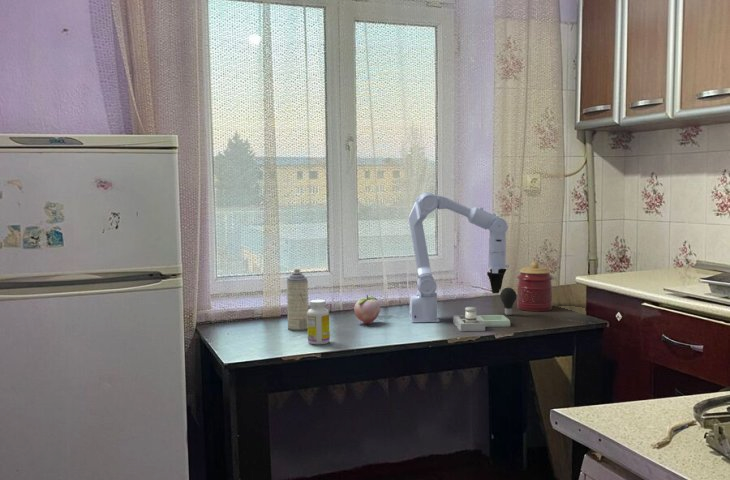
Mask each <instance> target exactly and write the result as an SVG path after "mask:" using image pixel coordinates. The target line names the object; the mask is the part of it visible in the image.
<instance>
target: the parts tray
mask: <svg viewBox="0 0 730 480" xmlns="http://www.w3.org/2000/svg"><path fill="white" fill-rule="evenodd" d="M476 315H477V314H476ZM477 316H478V317H479V318H480V319H481V320H482V321H483V322H484V323H485V328H496V327H497V328H500V327H502V328H503V327H504V328H505V327H506V328H507V327H511V320H510V319H509V318H508V317H506V316H505V315H503V314H485V315H477Z"/></svg>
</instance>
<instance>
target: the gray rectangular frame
mask: <svg viewBox="0 0 730 480" xmlns="http://www.w3.org/2000/svg"><path fill="white" fill-rule="evenodd" d="M452 317H453V319H452V320H453V321H452V323H453V325H455V326H457V327H456V328H457V329H458V330H459V332H485V331H486V327H485V323H484V322H483V321H482V320H481V319H480V318H479V317H478V316H477V314H476V317H477V319H476V323H465V314H464V315H463V314H462V315H453V316H452Z"/></svg>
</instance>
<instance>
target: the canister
mask: <svg viewBox="0 0 730 480" xmlns="http://www.w3.org/2000/svg"><path fill="white" fill-rule="evenodd" d="M519 272H520V274H518V275H517V276H516V278H517V279H518V281H517V282H518V284H517V285H516V287H517V291H516V299H517V300H516V306H517V307H516V308H517V309H518V310H522V311H527V312H546V311H551V310H552V309H553V288H554V287H553V284H552V280H553V279H554V277H553V276H552V275H551V270H550V269H548V268H547V267H545V266H540V264H539V263H538V261H532V263H531V266H524V267H522V268H521V269H520V270H519Z"/></svg>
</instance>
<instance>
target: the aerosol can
mask: <svg viewBox="0 0 730 480" xmlns="http://www.w3.org/2000/svg"><path fill="white" fill-rule="evenodd" d="M293 271H294V272H293V273H292V274H290V275H289V277H288V278H287V280H286V299H287V300H286V301H287V302H286V303H287V304H286V305H287V330H288V331H289V332H304V331H305V332H306V331H308V324H307V312H308V310H309V291H308V290H309V288H308V287H309V285H308V284H309V283H308V277H306V276H305V275H304V274H303V273H302V272H301V269H300V268H294V270H293Z"/></svg>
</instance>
